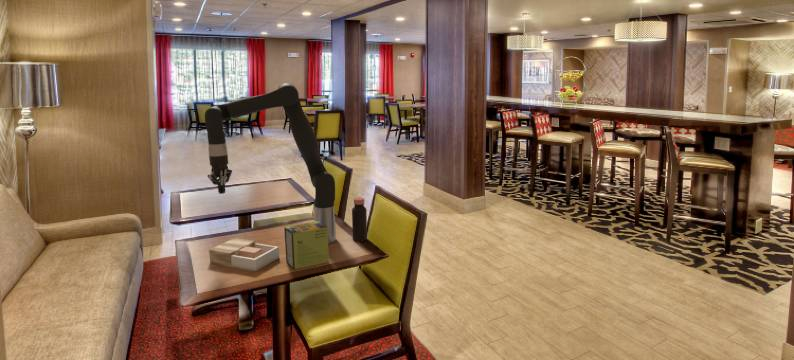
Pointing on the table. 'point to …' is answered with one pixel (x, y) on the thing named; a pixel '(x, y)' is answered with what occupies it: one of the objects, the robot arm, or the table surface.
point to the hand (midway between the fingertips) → (222, 193)
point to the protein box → (306, 244)
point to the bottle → (359, 220)
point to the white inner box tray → (259, 262)
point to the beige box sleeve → (228, 251)
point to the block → (250, 252)
